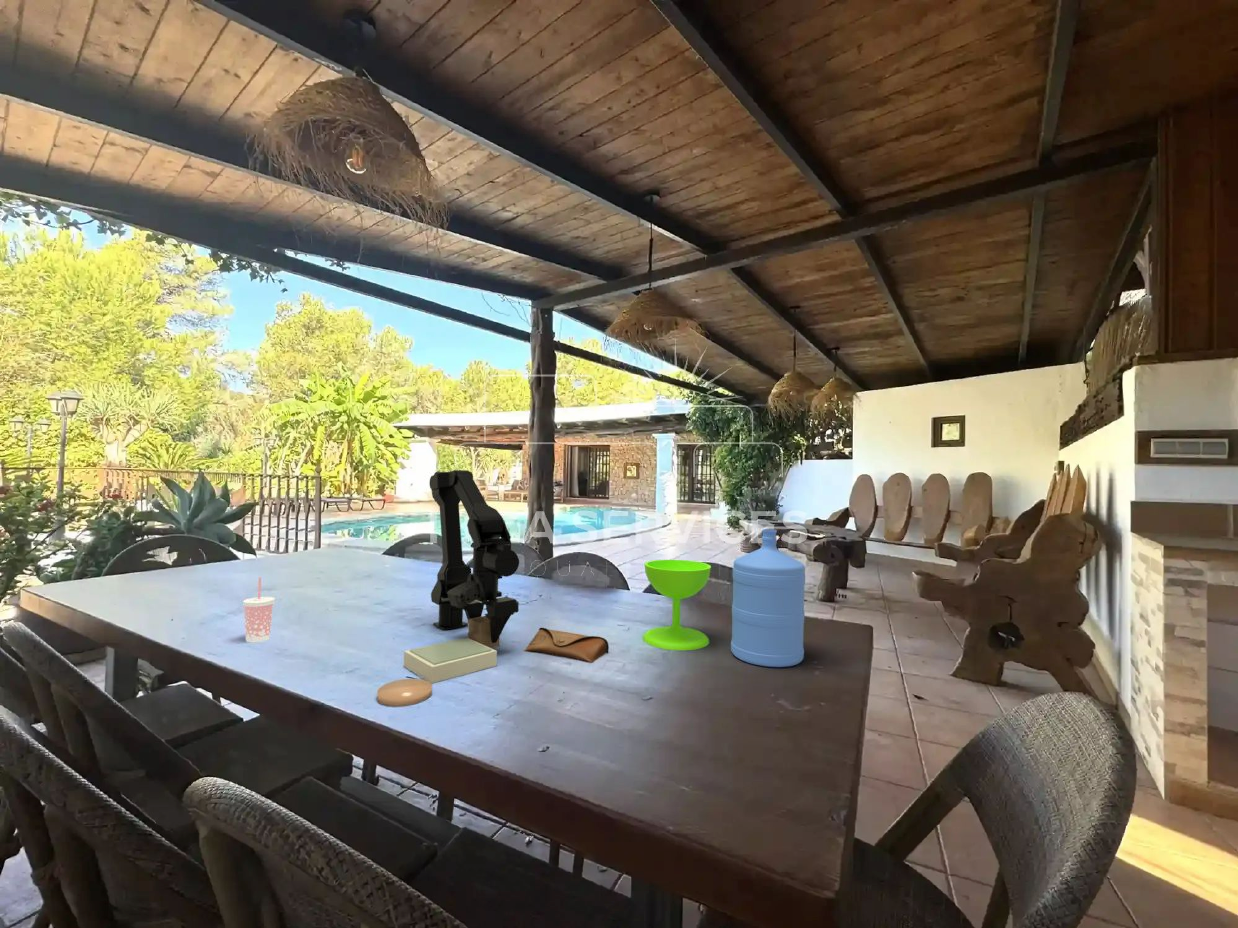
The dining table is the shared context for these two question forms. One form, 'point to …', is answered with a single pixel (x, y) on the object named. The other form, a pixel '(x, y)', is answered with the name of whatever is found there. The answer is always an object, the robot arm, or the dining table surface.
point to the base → (449, 659)
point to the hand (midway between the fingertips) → (483, 638)
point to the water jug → (768, 606)
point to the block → (481, 631)
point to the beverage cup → (258, 617)
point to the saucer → (404, 692)
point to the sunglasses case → (568, 645)
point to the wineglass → (676, 601)
